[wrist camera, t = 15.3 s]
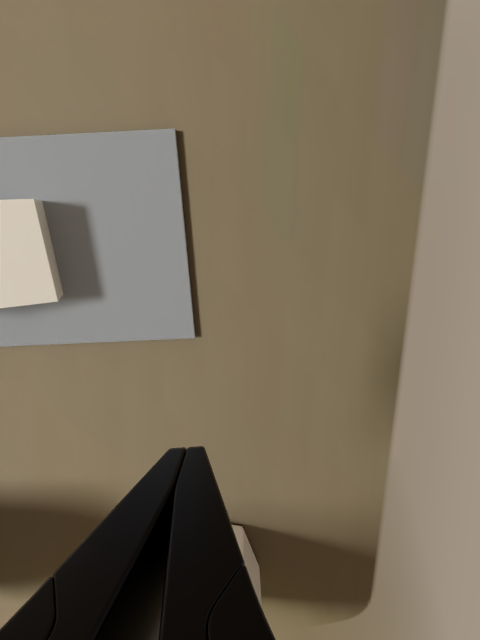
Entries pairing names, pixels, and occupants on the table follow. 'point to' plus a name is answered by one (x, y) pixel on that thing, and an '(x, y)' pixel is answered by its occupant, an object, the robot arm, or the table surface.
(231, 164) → the table surface
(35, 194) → the runner mat
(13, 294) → the domino
